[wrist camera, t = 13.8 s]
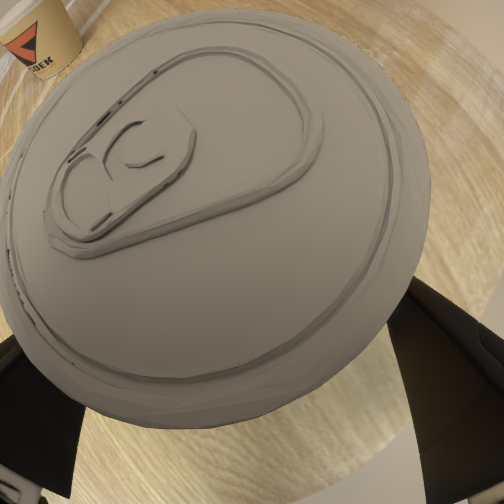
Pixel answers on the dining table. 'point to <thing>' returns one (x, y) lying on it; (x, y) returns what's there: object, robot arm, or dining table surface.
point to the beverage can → (211, 218)
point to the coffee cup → (41, 36)
